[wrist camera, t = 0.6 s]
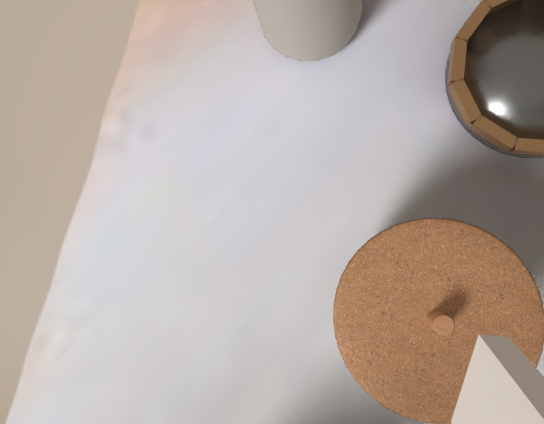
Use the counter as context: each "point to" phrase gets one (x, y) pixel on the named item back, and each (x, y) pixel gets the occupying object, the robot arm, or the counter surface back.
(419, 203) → the counter surface
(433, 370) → the lidded jar
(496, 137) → the coaster
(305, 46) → the can
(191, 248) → the counter surface
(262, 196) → the counter surface
